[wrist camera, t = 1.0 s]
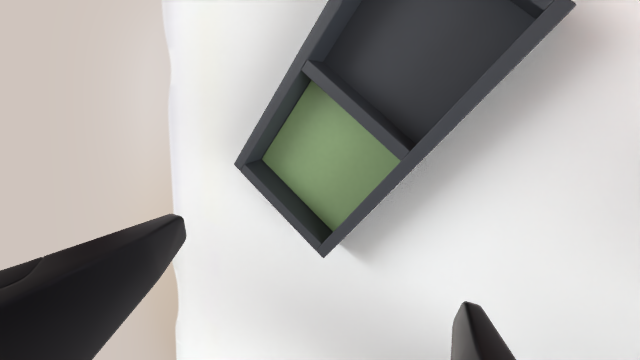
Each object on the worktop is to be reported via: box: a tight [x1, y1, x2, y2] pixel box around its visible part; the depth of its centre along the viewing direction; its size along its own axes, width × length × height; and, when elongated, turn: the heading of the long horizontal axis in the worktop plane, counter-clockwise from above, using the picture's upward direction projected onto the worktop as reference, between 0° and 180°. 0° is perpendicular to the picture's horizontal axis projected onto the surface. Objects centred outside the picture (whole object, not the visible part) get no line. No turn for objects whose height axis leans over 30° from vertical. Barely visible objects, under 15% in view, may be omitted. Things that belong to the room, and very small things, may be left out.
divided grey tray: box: [234, 0, 576, 258], centre depth 19 cm, size 10×19×2 cm, turn 142°
